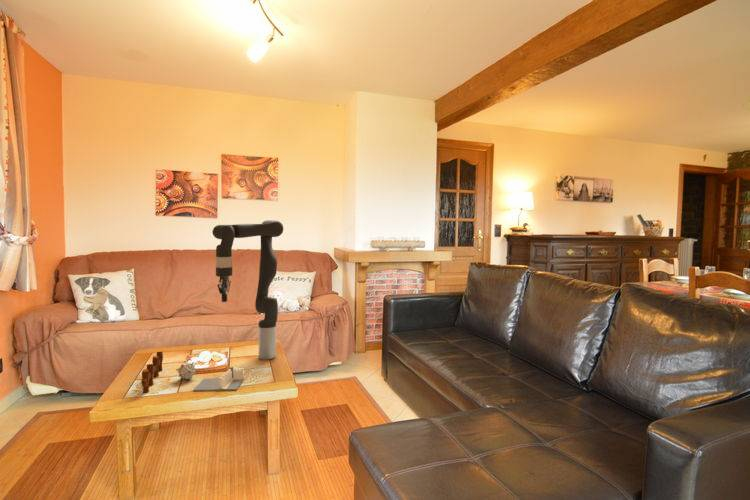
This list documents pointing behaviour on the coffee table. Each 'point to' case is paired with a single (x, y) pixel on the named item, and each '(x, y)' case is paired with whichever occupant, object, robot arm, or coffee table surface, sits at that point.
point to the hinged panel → (226, 378)
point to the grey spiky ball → (186, 371)
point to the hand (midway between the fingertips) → (224, 301)
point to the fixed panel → (238, 373)
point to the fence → (151, 372)
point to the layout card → (217, 385)
